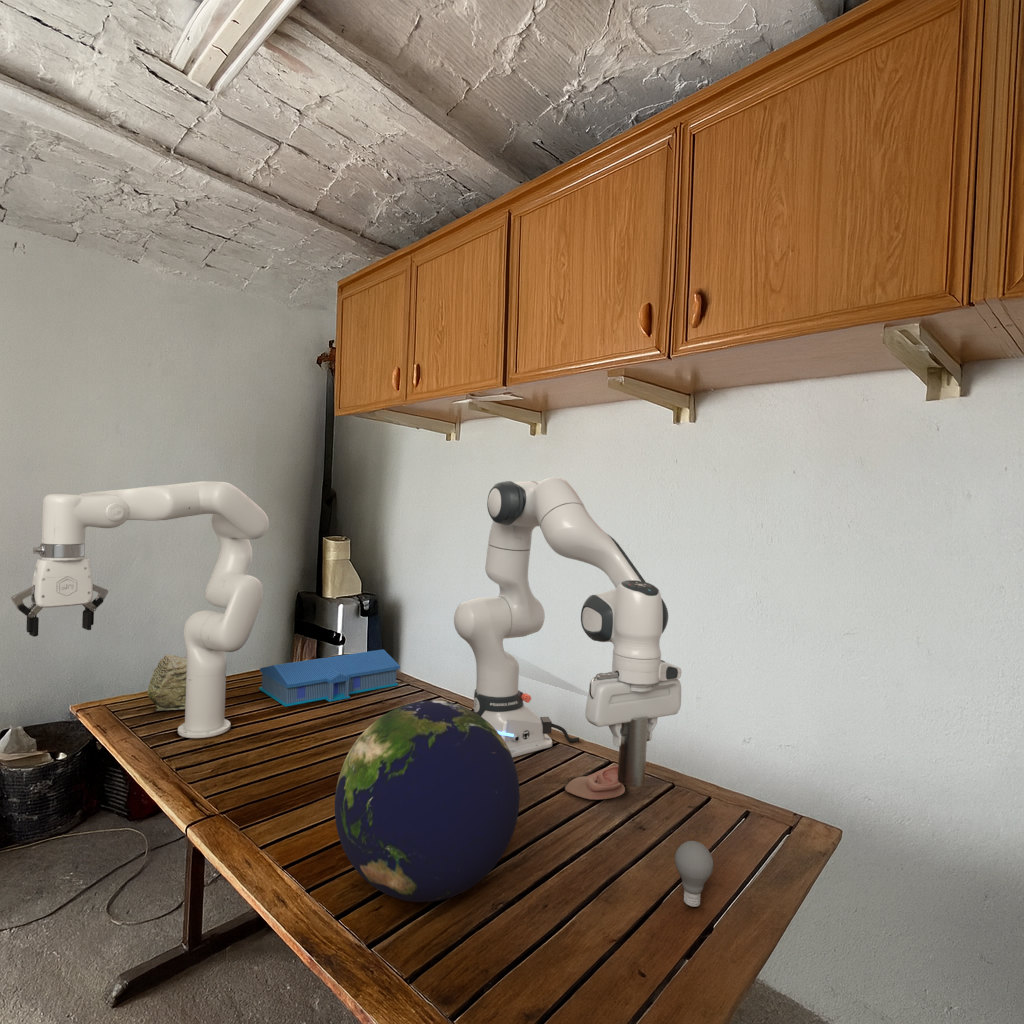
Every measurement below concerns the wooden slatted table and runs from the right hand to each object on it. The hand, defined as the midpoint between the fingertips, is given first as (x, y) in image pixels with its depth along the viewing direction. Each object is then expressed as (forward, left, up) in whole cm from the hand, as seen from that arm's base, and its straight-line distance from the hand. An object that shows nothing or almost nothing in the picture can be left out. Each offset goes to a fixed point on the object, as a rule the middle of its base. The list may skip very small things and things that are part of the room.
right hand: (632, 742), depth 118 cm
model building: (+31, -116, -20) cm, 122 cm away
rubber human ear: (-8, -23, -20) cm, 32 cm away
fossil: (+75, -112, -20) cm, 137 cm away
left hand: (+99, -69, +12) cm, 121 cm away
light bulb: (0, +18, -20) cm, 27 cm away
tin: (0, 0, -7) cm, 7 cm away
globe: (+38, -4, -20) cm, 44 cm away
